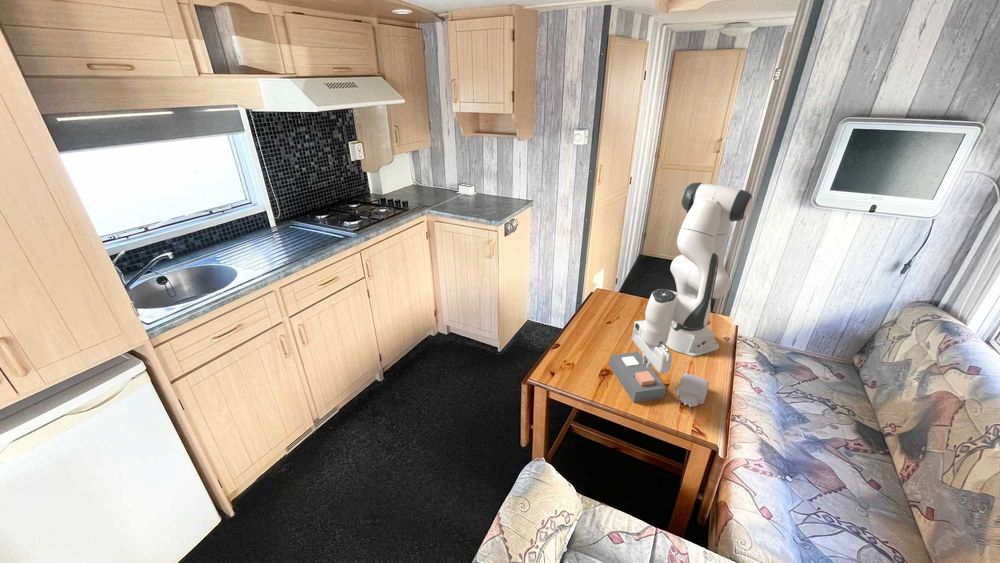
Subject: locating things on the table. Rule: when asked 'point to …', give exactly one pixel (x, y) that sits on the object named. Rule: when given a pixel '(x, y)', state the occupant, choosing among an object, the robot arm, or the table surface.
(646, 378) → the terracotta key
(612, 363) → the console
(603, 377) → the table surface
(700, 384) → the charger
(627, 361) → the white key
